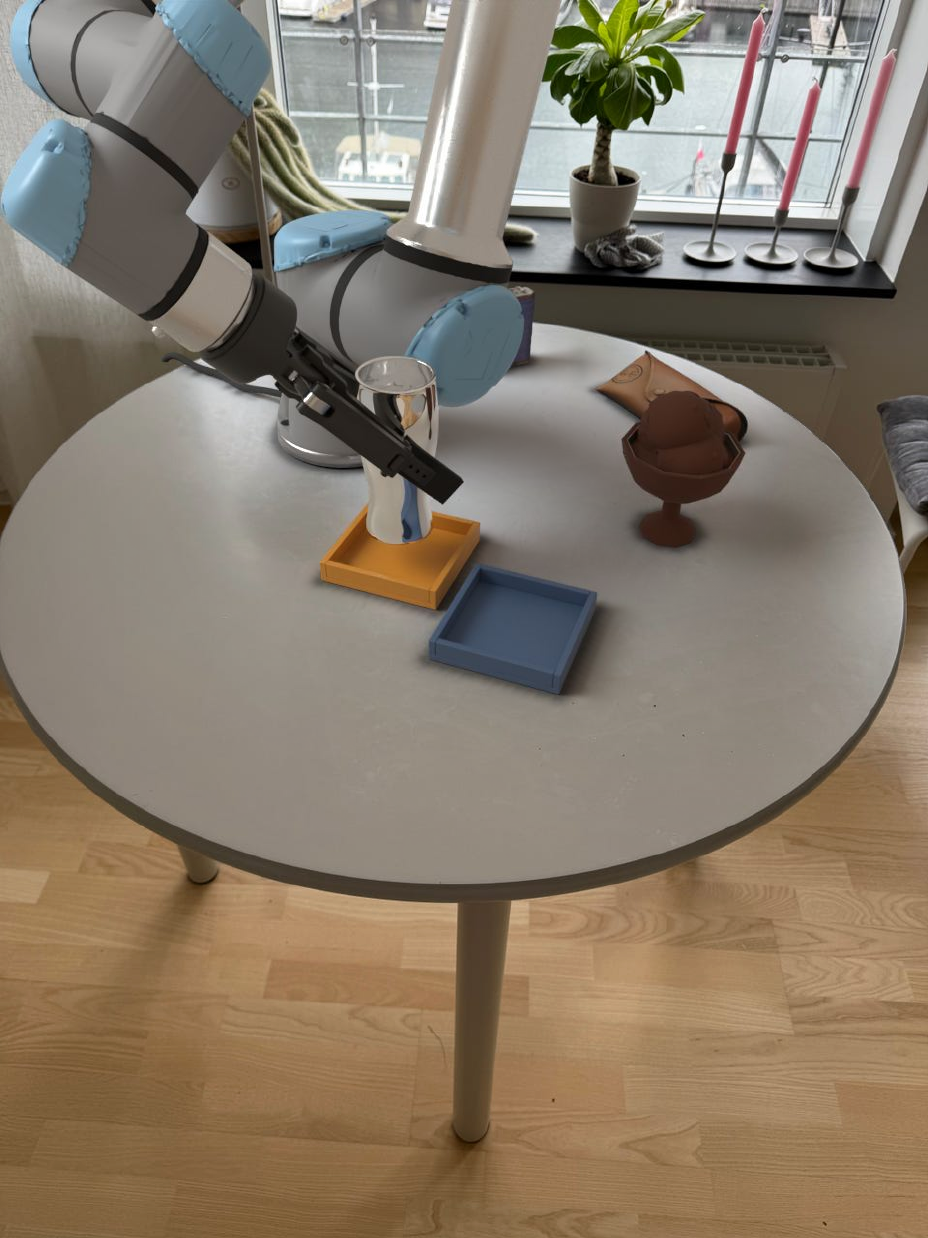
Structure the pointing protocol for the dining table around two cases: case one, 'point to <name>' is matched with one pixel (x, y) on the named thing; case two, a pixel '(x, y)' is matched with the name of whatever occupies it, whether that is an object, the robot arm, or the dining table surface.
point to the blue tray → (514, 627)
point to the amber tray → (402, 561)
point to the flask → (527, 305)
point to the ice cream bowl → (679, 461)
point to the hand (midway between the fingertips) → (436, 468)
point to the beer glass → (412, 411)
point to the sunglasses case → (664, 391)
